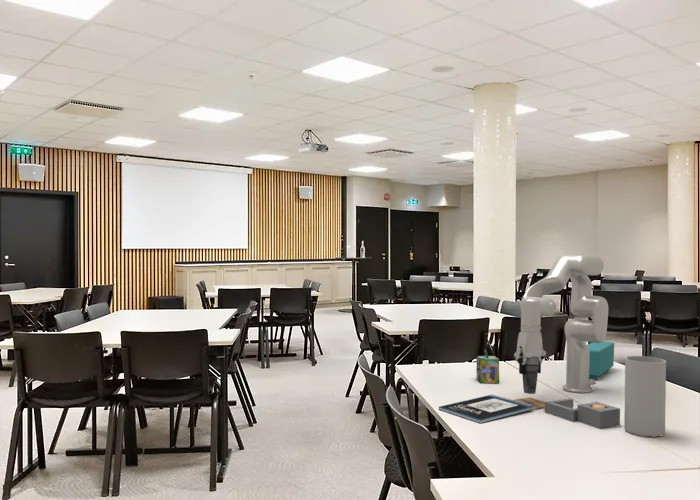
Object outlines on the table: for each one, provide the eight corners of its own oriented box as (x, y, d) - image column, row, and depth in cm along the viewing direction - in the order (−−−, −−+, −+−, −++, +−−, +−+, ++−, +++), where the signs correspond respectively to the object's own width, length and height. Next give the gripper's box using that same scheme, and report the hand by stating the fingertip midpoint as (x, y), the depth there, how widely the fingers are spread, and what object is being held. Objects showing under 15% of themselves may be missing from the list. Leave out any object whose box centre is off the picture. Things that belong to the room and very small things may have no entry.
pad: (530, 398, 245) (530, 397, 245) (555, 406, 233) (555, 405, 233) (504, 402, 239) (504, 400, 239) (529, 410, 226) (529, 409, 226)
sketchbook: (438, 410, 226) (438, 404, 226) (491, 398, 243) (491, 393, 243) (480, 423, 209) (480, 417, 209) (534, 409, 226) (534, 404, 226)
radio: (593, 368, 312) (593, 340, 312) (614, 371, 306) (614, 342, 306) (575, 379, 285) (576, 348, 285) (598, 382, 279) (598, 350, 279)
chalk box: (499, 383, 272) (499, 352, 272) (479, 383, 272) (480, 351, 272) (495, 379, 281) (495, 348, 281) (475, 379, 282) (476, 348, 282)
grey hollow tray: (569, 408, 231) (569, 393, 231) (621, 425, 209) (621, 408, 209) (544, 412, 225) (544, 396, 225) (596, 429, 203) (596, 412, 203)
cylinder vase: (663, 440, 192) (664, 364, 192) (622, 433, 199) (622, 360, 199) (666, 430, 203) (667, 358, 203) (626, 424, 210) (627, 354, 210)
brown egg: (597, 414, 214) (597, 403, 214) (606, 417, 210) (607, 406, 210) (589, 416, 212) (590, 405, 212) (599, 419, 208) (599, 407, 208)
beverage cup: (540, 395, 231) (541, 344, 232) (521, 394, 233) (522, 343, 233) (538, 391, 239) (539, 342, 239) (519, 389, 240) (520, 341, 240)
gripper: (539, 327, 243) (539, 369, 243) (507, 329, 235) (506, 373, 235) (553, 329, 236) (552, 373, 236) (520, 331, 229) (520, 376, 229)
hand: (529, 373), depth 236 cm, fingers closed on beverage cup, 7 cm apart
